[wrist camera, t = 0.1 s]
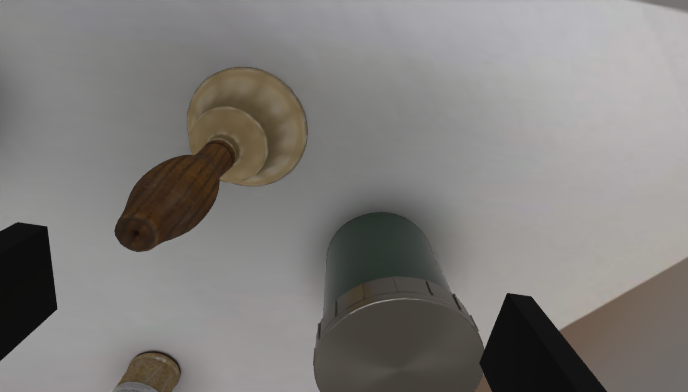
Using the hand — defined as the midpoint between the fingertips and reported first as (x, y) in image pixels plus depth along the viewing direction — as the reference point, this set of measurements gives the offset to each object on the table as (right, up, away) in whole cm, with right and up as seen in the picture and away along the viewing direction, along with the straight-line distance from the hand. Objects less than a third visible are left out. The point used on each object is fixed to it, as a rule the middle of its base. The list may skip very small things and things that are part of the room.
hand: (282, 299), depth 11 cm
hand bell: (-5, +8, +15) cm, 18 cm away
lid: (+5, -6, +9) cm, 12 cm away
